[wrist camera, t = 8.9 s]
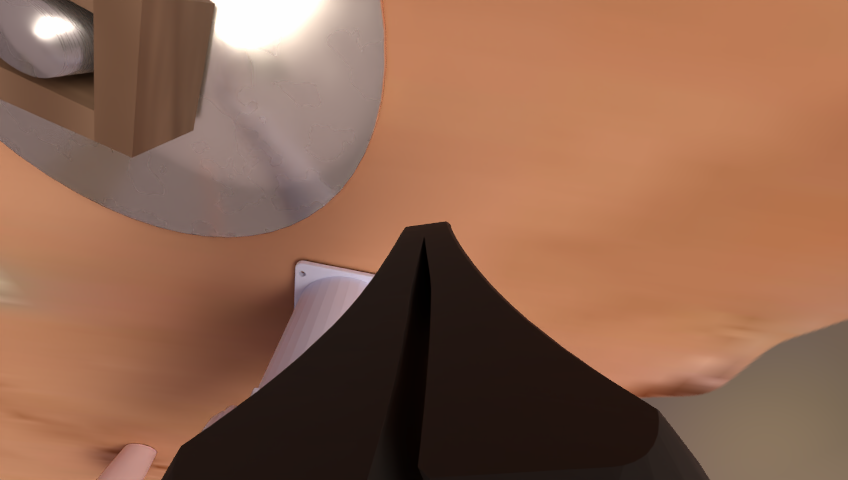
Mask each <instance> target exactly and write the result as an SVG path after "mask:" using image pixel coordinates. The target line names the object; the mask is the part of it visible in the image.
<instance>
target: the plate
mask: <svg viewBox="0 0 848 480" xmlns="http://www.w3.org/2000/svg"><path fill="white" fill-rule="evenodd" d="M210 1H212V2H213V3H215V7H214V13H213V18H212V24H211V30H210V36H209V42H208V48H207V54H206V60H205V65H204V71H203V77H202V83H201V89H200V95H199V101H198V106H197V112H196V118H195V124H194V130H193V131H191V132H189V133H187V134H184V135H182V136H180V137H178V138H175V139H173V140H171V141H169V142H166V143H164V144H162V145H160V146H157V147H155V148H153V149H151V150H148V151H146V152H144V153H142V154H139V155H137V156H135V157H133V158H131V157H129V156H127V155H125V154H122V153H120V152H118V151H116V150H113V149H111V148H109V147H107V146H104V145H102V144H100V143H98V142H95V141H93V140H91V139H89V138H86V137H84V136H82V135H80V134H77V133H75V132H73V131H71V130H68V129H66V128H64V127H62V126H59V125H57V124H55V123H53V122H50V121H48V120H46V119H44V118H41V117H39V116H37V115H35V114H32V113H30V112H28V111H26V110H23V109H21V108H19V107H16V106H14V105H12V104H10V103H7V102H5V101H3V100H1V99H0V141H1V142H3V143H4V144H5V145H6V146H8V147H9V148H10V149H11V150H13V151H14V152H15V153H17V154H18V155H19V156H21V157H22V158H24V159H25V160H26V161H28V162H29V163H31V164H32V165H34V166H35V167H37V168H38V169H39V170H41V171H42V172H44V173H45V174H47V175H48V176H50V177H52V178H53V179H55V180H57V181H58V182H60V183H62V184H63V185H65V186H67V187H68V188H70V189H72V190H73V191H75V192H77V193H79V194H81V195H82V196H84V197H86V198H88V199H90V200H92V201H94V202H96V203H98V204H100V205H102V206H104V207H106V208H109V209H111V210H113V211H116V212H118V213H121V214H123V215H125V216H128V217H130V218H133V219H136V220H139V221H142V222H145V223H148V224H151V225H154V226H157V227H161V228H165V229H169V230H173V231H177V232H181V233H187V234H194V235H201V236H212V237H241V236H252V235H258V234H263V233H269V232H272V231H276V230H279V229H282V228H285V227H288V226H291V225H293V224H295V223H297V222H299V221H301V220H303V219H305V218H307V217H309V216H310V215H312V214H313V213H315V212H316V211H317V210H319V209H320V208H322V207H323V206H325V205H326V204H327V203H328V202H329V201H330V200H331V199H332V198H333V197H334V196H335V195H336V194H337V193H338V192H340V190H341V189H342V188H343V186H344V185H345V184H346V183H347V181H348V180H349V179H350V177H351V176H352V175H353V173H354V172H355V170H356V168H357V166H358V164H359V163H360V161H361V159H362V157H363V156H364V154H365V152H366V150H367V148H368V145H369V142H370V140H371V137H372V135H373V132H374V129H375V127H376V124H377V120H378V116H379V112H380V107H381V103H382V99H383V92H384V83H385V73H386V27H385V19H384V10H383V2H382V0H210Z"/></svg>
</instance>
